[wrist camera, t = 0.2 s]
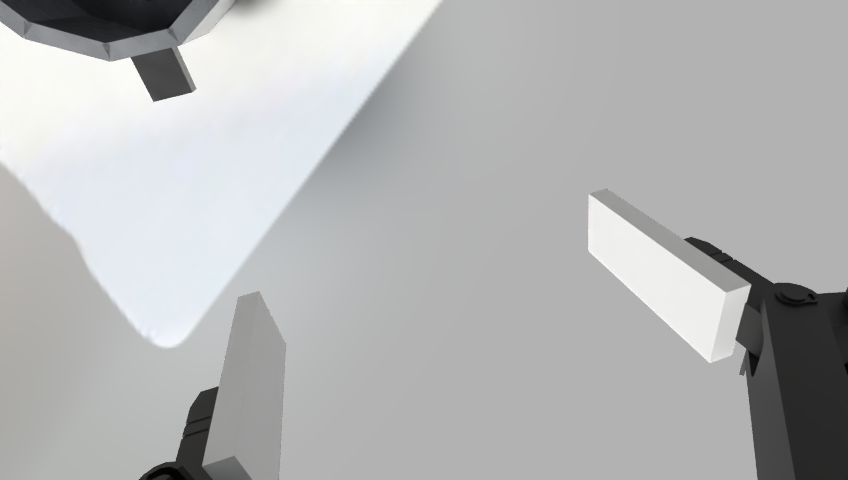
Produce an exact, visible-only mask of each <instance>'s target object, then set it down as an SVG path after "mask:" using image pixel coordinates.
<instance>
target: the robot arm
mask: <svg viewBox="0 0 848 480" xmlns="http://www.w3.org/2000/svg"><path fill="white" fill-rule="evenodd" d="M588 227H589V228H588V229H589V230H588V251H589V252H590V253H591V254H592V255H593V256H594V257H596V258H597V259H598V260H599V261H600V262H601V263H602V264H603V265H604V266H605V267H606V268H607V269H608V270H610V271H611V272H612V273H613V274H614V275H615V276H616V277H617V278H618V279H620V281H622V282H623V283H624V284H625V285H626V286H627V287H628V288H629V289H630V290H631V291H632V292H633V293H634V294H636V295H637V296H638V297H639V298H640V299H641V300H642V301H643V302H644V303H645V304H646V305H647V306H649V307H650V308H651V309H652V310H653V311H654V312H655V313H656V314H657V315H658V316H659V317H660V318H662V319H663V320H664V321H665V322H666V323H667V324H668V325H669V326H670V327H671V328H672V329H674V330H675V331H676V332H677V333H678V334H679V335H680V336H681V337H682V338H683V339H684V340H685V341H687V342H688V343H689V344H690V345H691V346H692V347H693V348H694V349H695V350H696V351H697V352H699V354H701V355H702V356H703V357H704V358H705V359H706V360H707V361H708V362H709V363H711V362H713V361H717V360H719V359H722V358H725V357H728V356H730V355H732V353H733V350H734V346H735V343H736V341H738V342H739V343H740V344H741V345H743V346H744V347H745V348H746V353H745V356H744V359H743V363H742V366H741V370H740V375H744V373H745V370H746V376H747V386H748V394H749V403H750V413H751V422H752V431H753V441H754V450H755V459H756V468H757V477H758V480H848V288H847V290H846V292H839V293H823V294H817V293H815V292H814V291H812V290H810V289H808V288H806V287H803V286H801V285H797V284H792V283H775V284H774V283H772V282H770V281H769V280H767V279H765V278H764V277H762V276H761V275H759V274H758V273H756V272H754V271H753V270H751V269H750V268H748V267H746V266H745V265H743V264H742V263H740V262H738V261H737V260H733V258H732V257H731V256H729V255H727V254H726V253H722V251H721V250H719V249H718V248H716V247H714V246H713V245H711V244H710V243H708V242H705V241H702V240H699V239H696V238H693V237H690V238H686V239H682V238H680V237H679V236H677V235H676V234H674V233H673V232H671V231H670V230H668V229H667V228H665V227H664V226H662V225H661V224H659V223H658V222H656V221H655V220H653V219H652V218H650V217H649V216H647V215H646V214H644V213H643V212H641V211H640V210H638V209H636V208H635V207H634V206H632V205H630V204H629V203H627V202H626V201H625V200H623V199H621V198H620V197H618V196H617V195H615V194H614V193H612V192H611V191H609V190H608V189H604V190H600V191H597V192H594V193H590V194H589V221H588ZM285 352H286V343H285V341H284V339H283V337H282V335H281V333H280V332H279V329H278V327H277V325H276V323H275V321H274V320H273V318H272V316H271V314H270V312H269V310H268V308H267V306H266V304H265V302H264V300H263V298H262V296H261V294H260V292H259V291H258V292H255V293H251V294H248V295H244V296H241V297H238V300H237V305H236V310H235V315H234V319H233V324H232V329H231V333H230V338H229V343H228V347H227V352H226V356H225V361H224V366H223V370H222V375H221V380H220V384H219V387H215V388H212V389H209V390H205V391H202V392H200V394H199V395H198V397H197V398H196V400H195V401H194V403H193V404H192V406H191V407H190V410H189V414H188V418H187V422H186V426H185V428H184V432H183V436H182V437H183V439H182V440H181V443H180V447H179V450H178V454H177V458H176V461H175V462H165V463H163V464H160V465H158V466H156V467H154V468H152V469H151V470H150V471H148V472H147V473H145V474H144V475H143V476H142V477H141V478H140V479H139V480H279V469H280V450H281V430H282V411H283V392H284V372H285Z"/></svg>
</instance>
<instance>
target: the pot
mask: <svg viewBox="0 0 848 480" xmlns="http://www.w3.org/2000/svg"><path fill="white" fill-rule="evenodd" d="M235 2H236V0H0V21H1V22H2V23H3V24H5V25H6V26H7V27H9V28H10V29H11V30H13V31H14V32H16V33H17V34H18V35H20V36H21V37H22V38H25V39H27V40H31V41H35V42H39V43H42V44H46V45H50V46H54V47H57V48H61V49H65V50H69V51H72V52H76V53H80V54H83V55H87V56H91V57H95V58H98V59H102V60H106V61H116V60H120V59H124V58H129V57H131V59H132V61H133V63H134V65H135V67H136V69H137V71H138V73H139V75H140V77H141V79H142V80H143V82H144V84H145V86H146V88H147V90H148V92H149V94H150V96H151V98H152V100H153V102H155V101H159V100H163V99H167V98H171V97H175V96H179V95H183V94H187V93H192V92H193V91H195V90H196V87H195V85H194V83H193V80H192V78H191V76H190V74H189V72H188V70H187V67H186V65H185V63H184V61H183V59H182V56H181V54H180V52H179V50H178V48H177V46H180V45H182V44H185V43H187V42H189V41H191V40H194V39H196V38H198V37H200V36H203V35H205V34H207V33H209V32H210V30H211V29H212V28H213V27H214V26H215V25H216V24H217V22H218V21H219V20H220V19H221V18H222V17H223V15H224V14H225V13H226V12H227V11H228V10H229V9H230V7H231V6H232V5H233V4H234V3H235Z"/></svg>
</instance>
